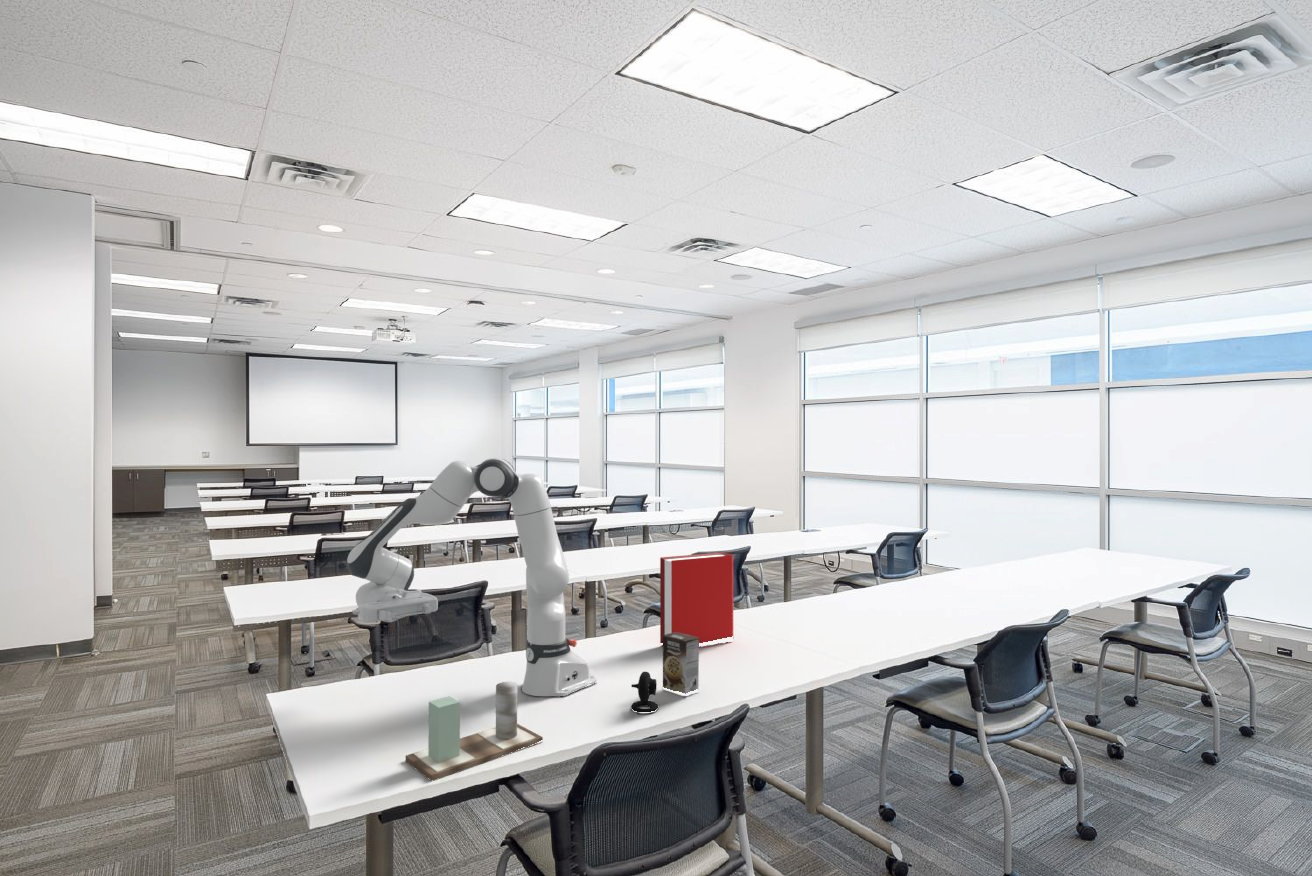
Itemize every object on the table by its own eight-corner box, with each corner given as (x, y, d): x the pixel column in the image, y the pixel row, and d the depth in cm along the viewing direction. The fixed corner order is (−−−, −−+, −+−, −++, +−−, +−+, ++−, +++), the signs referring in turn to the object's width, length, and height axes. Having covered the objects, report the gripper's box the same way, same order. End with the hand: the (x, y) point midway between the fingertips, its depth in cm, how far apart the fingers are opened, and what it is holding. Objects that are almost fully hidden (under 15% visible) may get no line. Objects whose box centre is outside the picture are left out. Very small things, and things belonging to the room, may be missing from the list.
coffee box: (661, 690, 197) (661, 635, 198) (676, 685, 202) (676, 630, 202) (685, 698, 191) (685, 640, 192) (699, 692, 196) (699, 636, 196)
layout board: (513, 726, 171) (513, 673, 171) (542, 742, 162) (542, 685, 162) (405, 761, 152) (406, 701, 152) (431, 781, 142) (431, 717, 143)
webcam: (655, 715, 178) (655, 677, 178) (628, 714, 180) (628, 676, 180) (660, 705, 186) (660, 668, 186) (634, 703, 187) (634, 667, 187)
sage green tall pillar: (449, 749, 155) (449, 696, 155) (459, 756, 151) (459, 702, 152) (428, 755, 151) (428, 701, 152) (438, 763, 148) (438, 707, 148)
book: (671, 652, 236) (671, 560, 237) (660, 646, 243) (660, 557, 244) (735, 641, 249) (734, 554, 250) (722, 636, 256) (722, 552, 257)
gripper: (349, 598, 177) (369, 607, 167) (424, 588, 191) (447, 595, 181) (349, 623, 177) (369, 633, 167) (424, 610, 191) (447, 619, 181)
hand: (410, 613), depth 174 cm, fingers open, 8 cm apart
